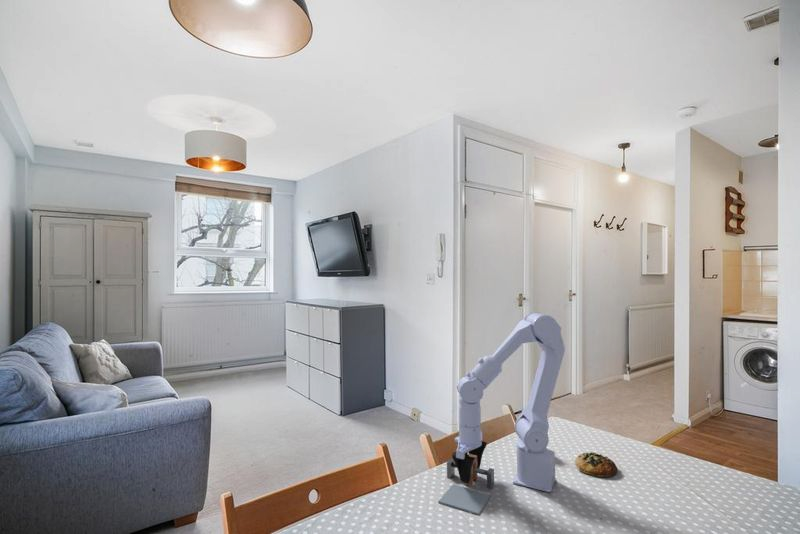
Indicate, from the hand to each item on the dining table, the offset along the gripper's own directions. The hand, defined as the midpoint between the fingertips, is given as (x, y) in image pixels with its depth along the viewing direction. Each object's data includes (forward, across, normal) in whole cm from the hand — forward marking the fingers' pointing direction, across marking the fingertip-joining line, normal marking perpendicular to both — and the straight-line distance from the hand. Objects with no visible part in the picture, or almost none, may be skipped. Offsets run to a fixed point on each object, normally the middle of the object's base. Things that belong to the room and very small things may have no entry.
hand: (470, 475), depth 107 cm
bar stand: (+1, 0, 0) cm, 1 cm away
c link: (+1, 0, 0) cm, 1 cm away
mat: (+1, +9, +2) cm, 9 cm away
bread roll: (+2, -24, +28) cm, 37 cm away
